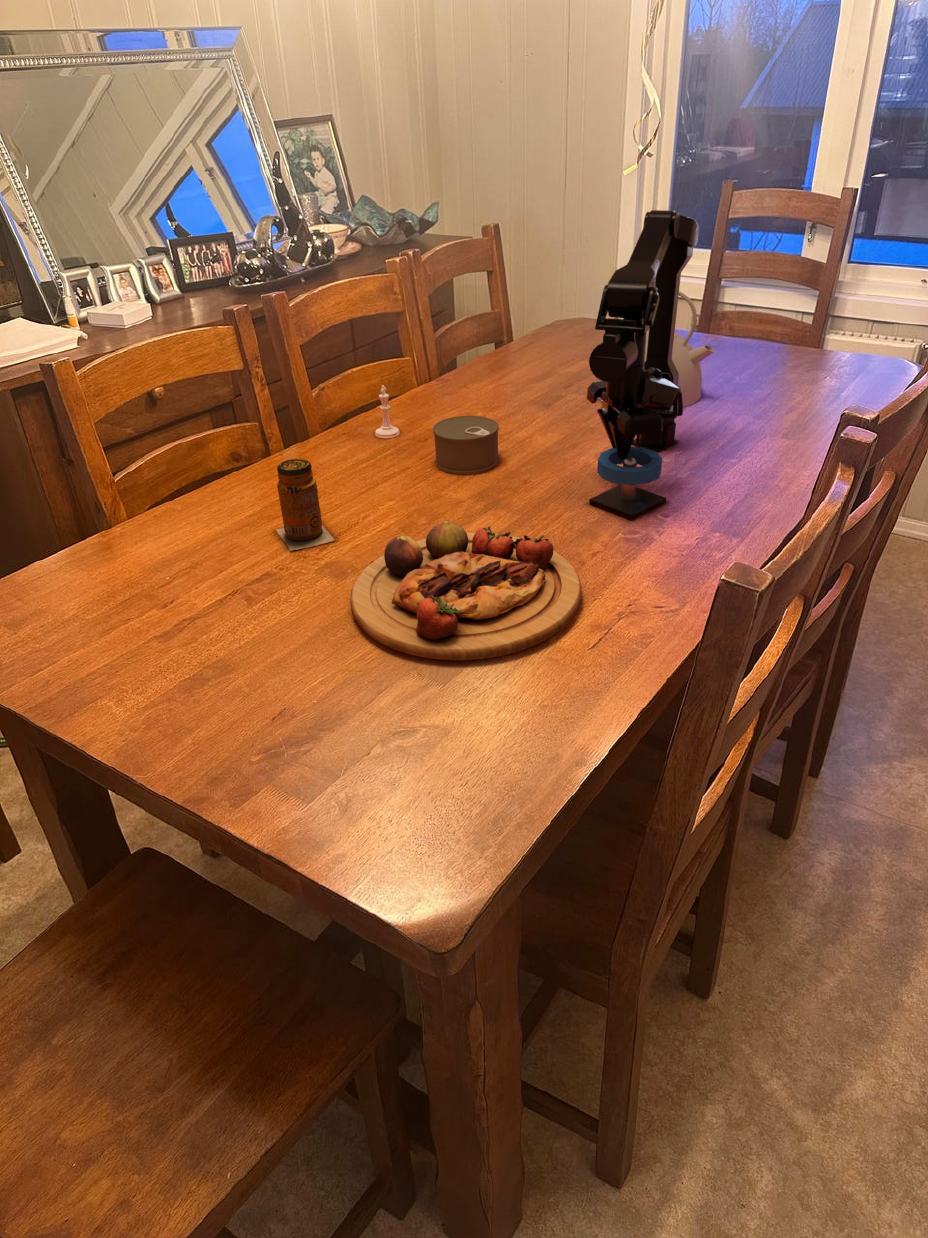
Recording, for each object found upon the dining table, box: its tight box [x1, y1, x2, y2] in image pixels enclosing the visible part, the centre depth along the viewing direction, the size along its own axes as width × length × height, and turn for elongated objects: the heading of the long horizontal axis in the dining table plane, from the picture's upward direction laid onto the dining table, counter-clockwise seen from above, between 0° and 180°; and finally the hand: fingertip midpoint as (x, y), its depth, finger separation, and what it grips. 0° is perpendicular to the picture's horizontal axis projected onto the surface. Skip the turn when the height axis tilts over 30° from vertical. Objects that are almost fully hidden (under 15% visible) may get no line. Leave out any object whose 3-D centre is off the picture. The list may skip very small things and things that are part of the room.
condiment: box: [275, 458, 336, 552], centre depth 137 cm, size 7×8×12 cm
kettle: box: [596, 290, 715, 408], centre depth 184 cm, size 25×23×22 cm
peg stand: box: [588, 457, 667, 521], centre depth 142 cm, size 9×9×8 cm
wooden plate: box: [349, 519, 583, 661], centre depth 119 cm, size 32×32×8 cm
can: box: [432, 415, 500, 476], centre depth 161 cm, size 12×12×7 cm
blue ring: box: [596, 446, 663, 486], centre depth 141 cm, size 10×10×2 cm
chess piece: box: [374, 384, 401, 439], centre depth 174 cm, size 5×5×10 cm
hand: (620, 456), depth 145 cm, fingers closed on blue ring, 2 cm apart
